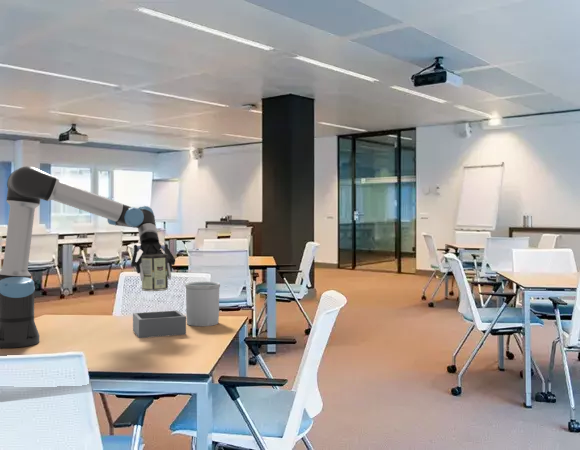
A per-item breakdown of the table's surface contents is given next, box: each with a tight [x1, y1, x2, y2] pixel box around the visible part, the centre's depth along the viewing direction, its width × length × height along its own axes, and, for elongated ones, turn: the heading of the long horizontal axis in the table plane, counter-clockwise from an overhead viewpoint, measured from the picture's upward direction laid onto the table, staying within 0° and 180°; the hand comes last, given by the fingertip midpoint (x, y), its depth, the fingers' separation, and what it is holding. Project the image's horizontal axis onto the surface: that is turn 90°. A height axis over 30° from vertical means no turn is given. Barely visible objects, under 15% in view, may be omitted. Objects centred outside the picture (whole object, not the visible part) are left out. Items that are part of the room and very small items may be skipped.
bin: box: [132, 310, 187, 339], centre depth 220 cm, size 18×16×7 cm
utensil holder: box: [185, 280, 221, 327], centre depth 240 cm, size 15×15×18 cm
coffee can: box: [140, 253, 169, 292], centre depth 220 cm, size 10×10×14 cm
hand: (156, 278), depth 217 cm, fingers closed on coffee can, 10 cm apart
